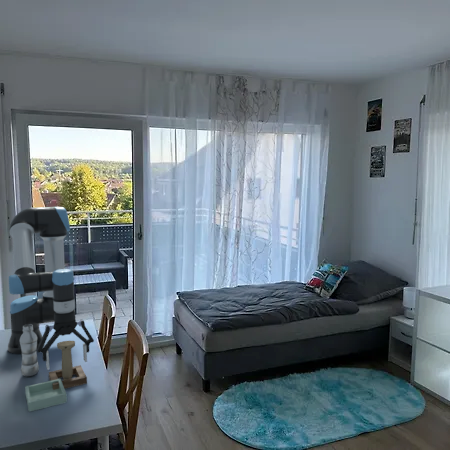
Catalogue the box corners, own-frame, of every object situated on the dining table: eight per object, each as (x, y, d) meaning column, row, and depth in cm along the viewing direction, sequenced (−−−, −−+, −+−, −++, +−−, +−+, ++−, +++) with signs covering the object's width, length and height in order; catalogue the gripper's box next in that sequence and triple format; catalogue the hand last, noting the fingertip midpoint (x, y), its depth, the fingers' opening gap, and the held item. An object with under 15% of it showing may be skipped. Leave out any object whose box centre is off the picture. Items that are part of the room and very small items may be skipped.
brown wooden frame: (48, 378, 163) (48, 372, 163) (80, 371, 169) (80, 365, 169) (53, 391, 153) (52, 384, 152) (87, 383, 159) (86, 377, 158)
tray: (25, 394, 150) (25, 386, 150) (60, 386, 156) (60, 378, 156) (28, 411, 139) (28, 403, 139) (66, 402, 145) (66, 393, 145)
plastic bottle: (19, 379, 162) (16, 329, 160) (23, 371, 168) (20, 323, 166) (37, 377, 164) (35, 328, 162) (40, 369, 170) (38, 322, 168)
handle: (76, 382, 159) (74, 344, 158) (58, 384, 157) (56, 346, 156) (76, 376, 164) (75, 339, 162) (59, 379, 162) (57, 341, 160)
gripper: (29, 318, 148) (32, 375, 151) (100, 308, 161) (102, 360, 163) (27, 313, 155) (30, 368, 157) (95, 303, 167) (97, 354, 169)
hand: (67, 364), depth 160 cm, fingers open, 13 cm apart
